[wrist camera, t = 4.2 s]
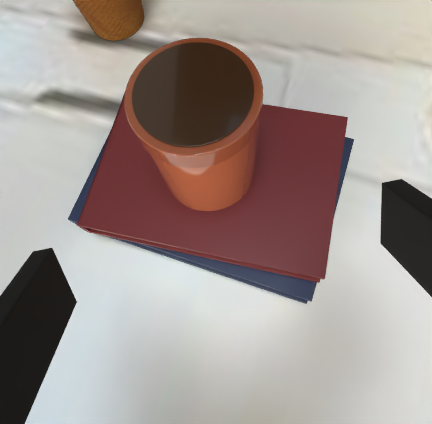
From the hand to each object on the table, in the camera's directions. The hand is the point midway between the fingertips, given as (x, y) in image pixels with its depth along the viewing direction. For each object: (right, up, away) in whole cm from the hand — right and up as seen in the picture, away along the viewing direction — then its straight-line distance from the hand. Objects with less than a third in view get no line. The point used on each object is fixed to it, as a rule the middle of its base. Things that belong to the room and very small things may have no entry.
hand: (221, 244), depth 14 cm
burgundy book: (0, +4, +18) cm, 18 cm away
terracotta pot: (-1, +5, +16) cm, 16 cm away
